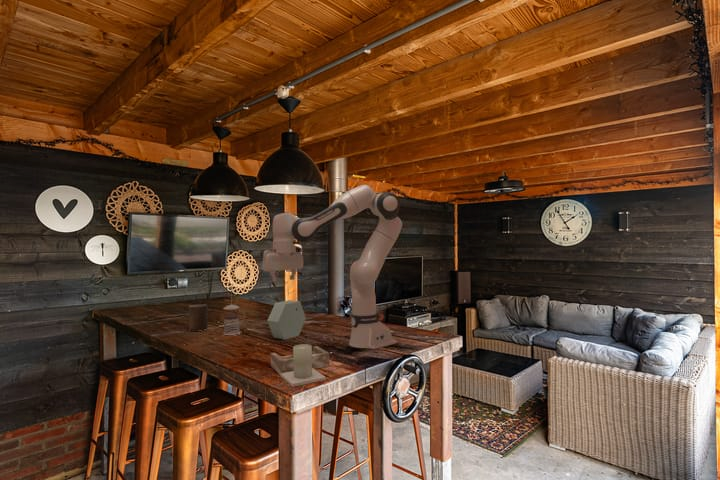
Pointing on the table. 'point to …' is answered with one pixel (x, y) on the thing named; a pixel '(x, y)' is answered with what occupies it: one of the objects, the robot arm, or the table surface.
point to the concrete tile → (301, 381)
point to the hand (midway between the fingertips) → (283, 280)
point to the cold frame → (286, 364)
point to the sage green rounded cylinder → (302, 360)
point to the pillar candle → (198, 317)
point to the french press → (228, 320)
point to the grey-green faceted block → (286, 319)
